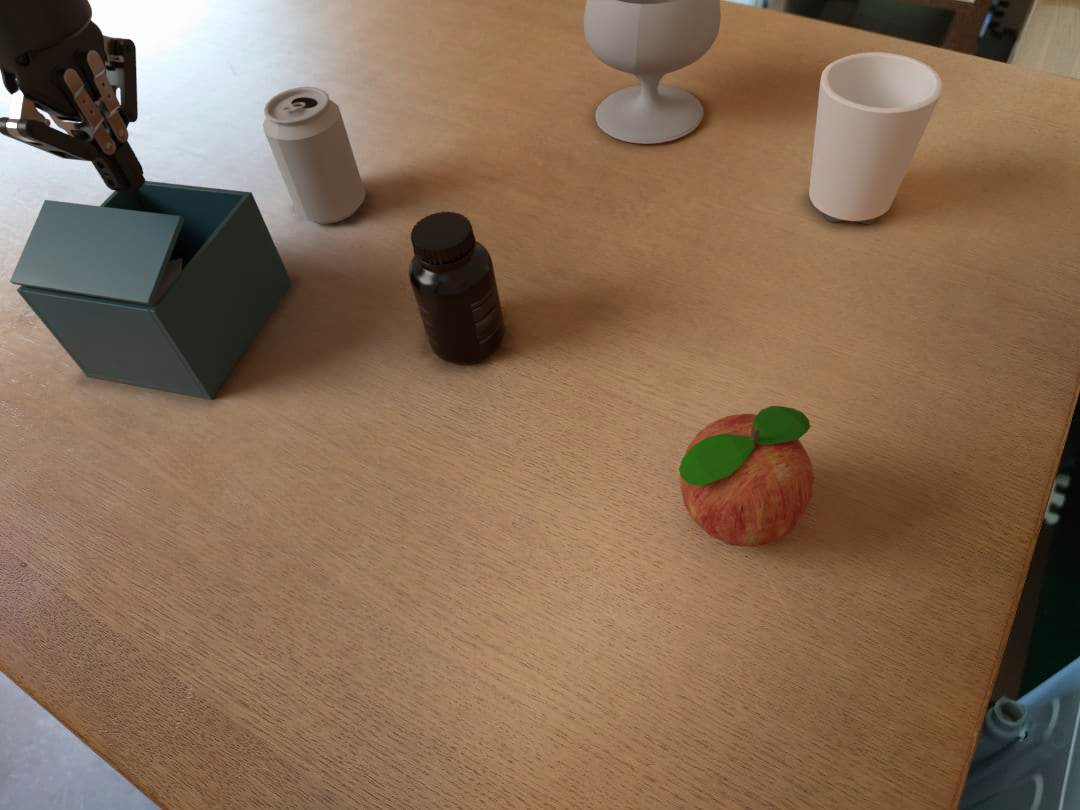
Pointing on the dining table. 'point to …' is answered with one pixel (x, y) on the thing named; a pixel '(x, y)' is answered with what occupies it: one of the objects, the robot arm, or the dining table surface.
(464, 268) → the supplement bottle
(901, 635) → the dining table surface
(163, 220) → the flap
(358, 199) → the can
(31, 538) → the dining table surface
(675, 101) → the chalice
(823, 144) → the cup
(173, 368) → the carton
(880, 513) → the dining table surface
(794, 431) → the fruit
